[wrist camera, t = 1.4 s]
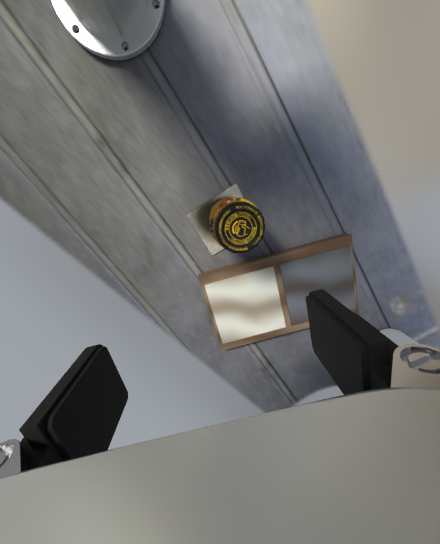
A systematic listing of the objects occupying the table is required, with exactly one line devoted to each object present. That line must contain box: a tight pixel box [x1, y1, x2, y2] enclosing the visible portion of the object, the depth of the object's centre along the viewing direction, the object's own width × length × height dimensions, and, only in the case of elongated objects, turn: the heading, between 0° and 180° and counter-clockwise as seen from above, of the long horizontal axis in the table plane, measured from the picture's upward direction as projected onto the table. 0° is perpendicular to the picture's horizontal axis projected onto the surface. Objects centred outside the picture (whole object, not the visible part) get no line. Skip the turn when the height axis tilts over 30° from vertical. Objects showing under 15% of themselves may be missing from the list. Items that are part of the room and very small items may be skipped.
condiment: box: [187, 184, 265, 256], centre depth 29 cm, size 7×8×12 cm
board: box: [199, 233, 359, 351], centre depth 38 cm, size 14×24×2 cm, turn 105°
